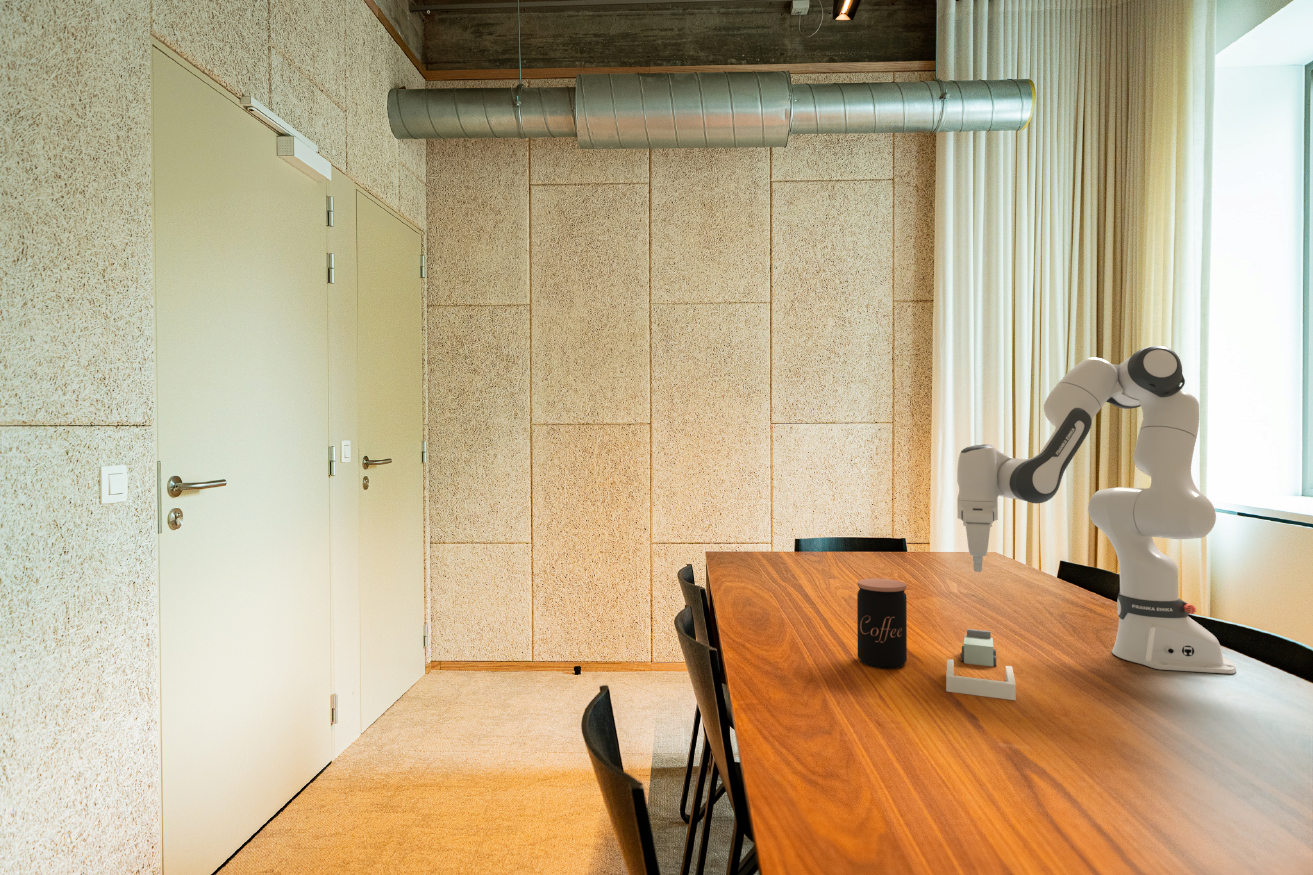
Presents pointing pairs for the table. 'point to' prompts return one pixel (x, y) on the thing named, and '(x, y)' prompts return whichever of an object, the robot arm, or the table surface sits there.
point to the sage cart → (978, 648)
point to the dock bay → (981, 684)
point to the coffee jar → (882, 623)
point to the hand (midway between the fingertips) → (977, 569)
